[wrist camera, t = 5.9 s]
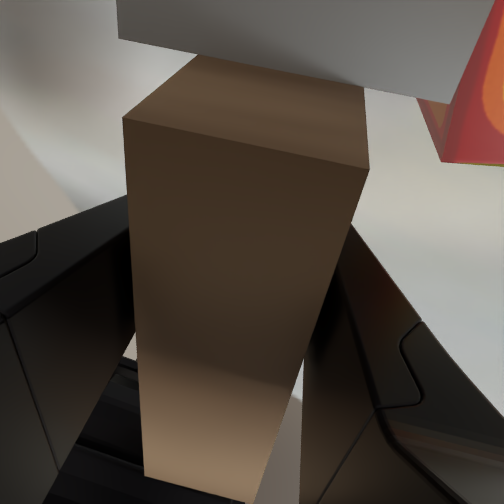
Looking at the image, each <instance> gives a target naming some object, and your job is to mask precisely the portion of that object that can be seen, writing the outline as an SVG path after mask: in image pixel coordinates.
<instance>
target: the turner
mask: <svg viewBox="0 0 504 504" xmlns="http://www.w3.org/2000/svg"><path fill="white" fill-rule="evenodd" d="M494 1H495V0H116V4H117V20H118V37H119V39H123V40H128V41H133V42H138V43H144V44H149V45H154V46H159V47H164V48H169V49H174V50H179V51H184V52H189V53H194V54H198V55H197V56H196V57H195V58H193V59H192V60H191V61H190V62H189V63H187V64H186V65H185V66H184V67H182V68H181V69H180V70H179V71H178V72H176V73H175V74H174V75H173V76H172V77H170V78H169V79H168V80H167V81H166V82H164V83H163V84H162V85H161V86H160V87H158V88H157V89H156V90H155V91H153V92H152V93H151V94H150V95H149V96H147V97H146V98H145V99H144V100H143V101H141V102H140V103H139V104H138V105H137V106H135V107H134V108H133V109H132V110H131V111H129V112H128V113H127V114H126V115H125V116H123V117H122V121H123V137H124V153H125V169H126V185H127V201H128V217H129V233H130V249H131V265H132V281H133V297H134V313H135V329H136V345H137V362H138V378H139V394H140V410H141V426H142V442H143V458H144V474H145V476H147V477H151V478H154V479H158V480H162V481H166V482H170V483H173V484H177V485H181V486H185V487H188V488H192V489H196V490H200V491H204V492H207V493H211V494H215V495H219V496H222V497H226V498H230V499H234V500H237V501H241V502H245V503H249V504H253V502H254V499H255V496H256V493H257V491H258V488H259V485H260V482H261V479H262V476H263V474H264V471H265V468H266V465H267V462H268V459H269V456H270V453H271V450H272V448H273V445H274V442H275V439H276V436H277V433H278V431H279V428H280V425H281V422H282V419H283V416H284V413H285V411H286V408H287V405H288V402H289V399H290V396H291V393H292V391H293V388H294V385H295V382H296V379H297V376H298V373H299V370H300V368H301V365H302V362H303V359H304V356H305V353H306V350H307V348H308V345H309V342H310V339H311V336H312V333H313V330H314V328H315V325H316V322H317V319H318V316H319V313H320V310H321V307H322V305H323V302H324V299H325V296H326V293H327V290H328V287H329V285H330V282H331V279H332V276H333V273H334V270H335V267H336V264H337V262H338V259H339V256H340V253H341V250H342V247H343V244H344V242H345V239H346V236H347V233H348V230H349V227H350V224H351V222H352V219H353V216H354V213H355V210H356V207H357V204H358V201H359V199H360V196H361V193H362V190H363V187H364V184H365V181H366V179H367V176H368V173H369V170H370V167H369V153H368V139H367V125H366V112H365V98H364V87H365V88H370V89H375V90H380V91H385V92H390V93H395V94H400V95H405V96H410V97H415V98H420V99H425V100H430V101H435V102H440V103H445V104H450V102H451V100H452V98H453V95H454V93H455V91H456V89H457V86H458V84H459V82H460V79H461V77H462V75H463V73H464V70H465V68H466V66H467V63H468V61H469V59H470V56H471V54H472V52H473V50H474V47H475V45H476V43H477V40H478V38H479V36H480V34H481V31H482V29H483V27H484V24H485V22H486V20H487V17H488V15H489V13H490V11H491V8H492V6H493V4H494Z"/></svg>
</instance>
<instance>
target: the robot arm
mask: <svg viewBox="0 0 504 504" xmlns="http://www.w3.org/2000/svg"><path fill="white" fill-rule="evenodd" d="M135 332H136V329H135V313H134V297H133V281H132V265H131V249H130V233H129V217H128V201H127V195H125V196H122V197H119V198H117V199H114V200H112V201H109V202H106V203H104V204H101V205H99V206H96V207H93V208H91V209H88V210H86V211H83V212H81V213H78V214H75V215H73V216H70V217H68V218H65V219H62V220H60V221H57V222H55V223H52V224H49V225H47V226H44V227H42V228H39V229H38V230H37V232H36V231H31V232H29V233H26V234H24V235H21V236H19V237H16V238H13V239H10V240H7V241H5V242H2V243H0V504H245V502H241V501H237V500H234V499H230V498H226V497H222V496H219V495H215V494H211V493H207V492H204V491H200V490H196V489H192V488H188V487H185V486H181V485H177V484H173V483H170V482H166V481H162V480H158V479H154V478H151V477H147V476H145V474H144V458H143V442H142V426H141V410H140V394H139V378H138V362H137V359H136V361H135V360H132V359H129V358H127V357H124V356H123V354H124V352H125V350H126V348H127V346H128V345H129V343H130V341H131V339H132V337H133V335H134V333H135ZM302 404H303V405H302V435H301V464H300V495H299V504H504V417H503V416H502V415H501V414H500V413H499V411H498V410H497V409H496V408H495V407H494V406H493V405H492V404H491V402H490V401H489V400H488V399H487V398H486V397H485V396H484V395H483V394H482V392H481V391H480V390H479V389H478V388H477V387H476V386H475V385H474V383H473V382H472V381H471V380H470V379H469V378H468V376H467V375H466V374H465V373H464V372H463V371H462V369H461V368H460V367H459V366H458V365H457V364H456V362H455V361H454V360H453V359H452V358H451V357H450V355H449V354H448V353H447V351H446V350H445V349H444V348H443V346H442V345H441V344H440V342H439V341H438V340H437V339H436V337H435V336H434V335H433V333H432V332H431V331H430V329H429V328H428V327H427V325H426V324H425V323H424V322H423V321H422V319H421V317H420V316H419V315H418V313H417V312H416V311H415V309H414V308H413V307H412V305H411V304H410V302H409V301H408V300H407V298H406V297H405V296H404V294H403V293H402V292H401V290H400V289H399V288H398V286H397V285H396V284H395V282H394V281H393V279H392V278H391V277H390V275H389V274H388V273H387V271H386V270H385V269H384V267H383V266H382V265H381V263H380V262H379V261H378V259H377V258H376V256H375V255H374V254H373V252H372V251H371V250H370V248H369V247H368V246H367V244H366V243H365V242H364V240H363V239H362V237H361V236H360V235H359V233H358V232H357V231H356V229H355V228H354V227H353V225H352V224H350V227H349V230H348V233H347V236H346V239H345V242H344V244H343V247H342V250H341V253H340V256H339V259H338V262H337V264H336V267H335V270H334V273H333V276H332V279H331V282H330V285H329V287H328V290H327V293H326V296H325V299H324V302H323V305H322V307H321V310H320V313H319V316H318V319H317V322H316V325H315V328H314V330H313V333H312V336H311V339H310V342H309V345H308V348H307V350H306V353H305V356H304V371H303V402H302Z"/></svg>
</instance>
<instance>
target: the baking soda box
mask: <svg viewBox="0 0 504 504" xmlns="http://www.w3.org/2000/svg"><path fill="white" fill-rule="evenodd" d="M416 99H417V101H418V104H419V106H420V109H421V112H422V114H423V117H424V119H425V122H426V124H427V127H428V130H429V132H430V135H431V137H432V140H433V143H434V145H435V148H436V150H437V153H438V155H439V158H440V161H441V162H447V163H460V164H473V165H486V166H500V167H504V0H495V1H494V4H493V6H492V8H491V11H490V13H489V15H488V17H487V20H486V22H485V24H484V27H483V29H482V31H481V34H480V36H479V38H478V40H477V43H476V45H475V47H474V50H473V52H472V54H471V56H470V59H469V61H468V63H467V66H466V68H465V70H464V73H463V75H462V77H461V79H460V82H459V84H458V86H457V89H456V91H455V93H454V95H453V98H452V100H451V102H450V104H445V103H440V102H435V101H430V100H425V99H420V98H416Z"/></svg>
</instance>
